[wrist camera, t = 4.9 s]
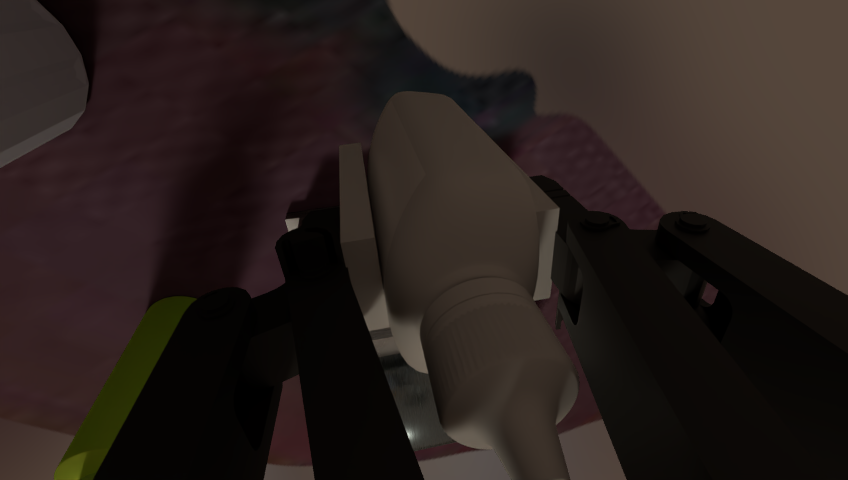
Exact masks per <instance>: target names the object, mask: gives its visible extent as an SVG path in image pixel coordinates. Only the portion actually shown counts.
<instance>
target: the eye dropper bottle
mask: <svg viewBox="0 0 848 480" xmlns="http://www.w3.org/2000/svg"><path fill="white" fill-rule="evenodd" d="M367 181H368V192H369V198H370V205H371V212H372V218H373V225H374V231H375V238H376V244H377V251H378V257H379V264H380V270H381V277H382V283H383V290H384V296H385V304H386V310H387V315H388V320H389V325H390V328H391V332H392V335H393V338H394V340H395V343H396V345H397V347H398V349H399V351H400V353H401V355H402V357H403V358H404V360H405V361H406V362H407V364H408V365H410V366H411V367H412V368H414V369H415V370H416V371H419V372H423V373H427V374H429V379H430V383H431V387H432V392H433V396H434V400H435V404H436V409H437V413H438V417H439V421H440V424H441V426H442V428H443V429H444V432H445V433H447V435H448V436H450V437H451V438H452V439H453V440H455V441H457V442H459V443H461V444H463V445H465V446H468V447H472V448H477V449H494V451H495V452H496V454H497V455H498V457H499V459H500V461H501V462H502V464H503V466H504V468H505V470H506V471H507V473H508V475H509V477H510V478H511V480H570V477H569V473H568V469H567V466H566V463H565V459H564V455H563V452H562V448H561V444H560V440H559V437H558V433H557V428H556V425H557V424H558V423H559V422H560V421H561V420H562V419H563V418H564V417H565V416H566V415H567V413H568V412H569V411H570V409H571V408H572V406H573V404H574V402H575V400H576V397H577V394H578V390H579V383H580V382H579V376H578V372H577V370H576V367H575V366H574V364H573V363H572V361H571V359H570V358H569V356H568V355H567V353H566V351H565V350H564V348H563V346H562V345H561V343H560V342H559V340H558V338H557V337H556V335H555V334H554V332H553V330H552V329H551V327H550V325H549V324H548V322H547V321H546V319H545V317H544V316H543V314H542V313H541V311H540V309H539V308H538V306H537V304H536V303H535V301H534V300H533V297H534V293H535V289H536V283H537V277H538V268H539V231H538V223H537V216H536V210H535V205H534V201H533V198H532V194H531V191H530V187H529V186H528V184H527V182H526V181H525V179H524V178H523V176H522V175H521V173H520V172H519V170H518V169H517V168H516V167H515V165H514V164H513V163H512V162H511V161H510V160H509V159H508V157H507V156H506V155H505V154H504V153H503V152H502V151H501V150H500V149H499V148H498V146H497V145H496V144H495V143H494V142H493V141H492V140H491V139H490V138H489V137H488V136H487V135H486V134H485V133H484V132H483V131H482V130H481V129H480V128H479V126H478V125H477V124H476V123H475V122H474V121H473V120H472V119H471V118H470V117H469V116H468V115H467V114H466V113H465V112H464V111H463V110H462V109H461V108H460V107H459V106H458V105H457V104H456V103H455V102H454V101H453V100H452V99H451V98H449V97H447V96H445V95H441V94H434V93H424V92H412V91H404V92H399V93H396V94H395V95H394V96H393V97H391V98H390V99H389V101H388V103H387V104H386V106H385V108H384V110H383V112H382V114H381V116H380V118H379V121H378V123H377V126H376V129H375V131H374V135H373V138H372V142H371V146H370V151H369V157H368V169H367Z"/></svg>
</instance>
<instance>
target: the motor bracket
mask: <svg viewBox="0 0 848 480" xmlns="http://www.w3.org/2000/svg"><path fill="white" fill-rule="evenodd" d="M335 207H340V206H335ZM328 208H334V207H328ZM321 209H327V208H321ZM321 209H314V210H321ZM314 210H307V211H300V212H293V213H287V214H286V219H285V220H286V224H287V227H288V231H291V230H293V229H296V228H299V227H301V225H302V220H303V219H304V218H305V217H306V216H307V214H308V213H309V212H310V211H314ZM369 333H370V335H371V338H372V341H373V343H374V346H375V349H376V351H377V354H378V357H379V359H380V362H381V365H382V367H383V370H384V373H385V376H386V378H387V381H388V384H389V386H390V389H391V392H392V394H393V397H394V400H395V402H396V405H397V408H398V410H399V413H400V416H401V418H402V421H403V424H404V427H405V429H406V432H407V435H408V437H409V440H410V443H411V445H412V448H413V451H417V450H421V449H426V448H431V447H436V446H440V445H445V444H450V443H454V442H457V441H455V440H453V439H452V438H451V437H450V436H448V435H447V433H445V432H444V429H443V428H442V426H441V424H440V421H439V417H438V413H437V409H436V404H435V400H434V396H433V392H432V387H431V383H430V379H429V374H427V373H423V372H419V371H416V370H415V369H414V368H412V367H411V366H410V365H408V364H407V362H406V361H405V360H404V358H403V357H402V355H401V353H400V351H399V349H398V347H397V345H396V343H395V340H394V338H393V335H392V332H391V328H390V325H389V327H388V328H382V329H377V330H371V331H369Z"/></svg>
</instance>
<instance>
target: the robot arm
mask: <svg viewBox="0 0 848 480" xmlns="http://www.w3.org/2000/svg"><path fill="white" fill-rule="evenodd" d="M479 128H480V127H479ZM480 129H481V128H480ZM481 130H482V129H481ZM482 131H483V130H482ZM483 132H484V131H483ZM484 133H485V132H484ZM485 134H486V133H485ZM486 135H487V134H486ZM487 136H488V135H487ZM488 137H489V136H488ZM489 138H490V137H489ZM490 139H491V138H490ZM491 140H492V139H491ZM492 141H493V140H492ZM493 142H494V141H493ZM494 143H495V142H494ZM495 144H496V143H495ZM496 145H497V144H496ZM497 146H498V145H497ZM498 148H499V149H500V150H501V151H502V152H503V153H504V154H505V155H506V156H507V157H508V159H509V160H510V161H511V162H512V163H513V164H514V165H515V167H516V168H517V169H518V170H519V172H520V173H521V175H522V176H523V178H524V179H525V181H526V182H527V184H528V186H529V187H530V191H531V194H532V198H533V201H534V205H535V210H536V216H537V223H538V231H539V268H538V277H537V283H536V289H535V293H534V297H533V300H534V301H536V300H541V299H547V298H550V293H551V284H552V281H553V282H554V284H555V285H556V286H557V288H558V289H559V297H558V306H557V314H556V322H555V325H556V329H560V326H561V321H562V320H564V323H565V325H566V329H567V330H568V333H569V335H570V338H571V340H572V343H573V345H574V348H575V350H576V353H577V355H578V358H579V360H580V363H581V365H582V368H583V371H584V373H585V376H586V378H587V381H588V383H589V386H590V388H591V391H592V393H593V396H594V398H595V401H596V403H597V406H598V408H599V411H600V413H601V416H602V419H603V421H604V424H605V426H606V429H607V431H608V434H609V436H610V439H611V441H612V444H613V446H614V449H615V451H616V454H617V456H618V459H619V461H620V464H621V466H622V469H623V472H624V474H625V476H626V479H627V480H848V295H846V294H844V293H842V292H841V291H839V290H837V289H835V288H834V287H832V286H830V285H828V284H827V283H825V282H823V281H821V280H820V279H818V278H816V277H815V276H813V275H811V274H809V273H808V272H806V271H804V270H802V269H801V268H799V267H797V266H795V265H794V264H792V263H790V262H788V261H786V260H785V259H783V258H781V257H779V256H778V255H776V254H774V253H773V252H771V251H769V250H767V249H766V248H764V247H762V246H761V245H759V244H757V243H755V242H753V241H752V240H750V239H748V238H747V237H745V236H743V235H741V234H740V233H738V232H736V231H734V230H733V229H731V228H729V227H727V226H725V225H724V224H722V223H720V222H719V221H717V220H715V219H713V218H710V217H708V216H706V215H702V214H698V213H696V212H688V211H681V212H671V213H668V214H666V215H663V217H662V218H661V219H660V222H659V226H658V230H632V229H629V228H628V227H627V225H626V224H625V223H624V222H623V221H622V220H621V219H619V218H618V217H616V216H614V215H611V214H609V213H604V212H599V211H588V210H587V209H585V208H584V207H583V206H582V205H581V204H580V203H579V202H578V201H577V200H576V199H574V198H573V197H572V196H570V194H569V193H568V192H567V191H566V190H563V188H562V187H561V186H560V185H559V184H558V183H557V182H556V181H554V180H552V179H549V178H547V177H545V176H542V175H540V176H533V177H528V176H527V175H526V174H525V173H524V171H523V170H522V169H521V168H520V167H519V166H518V165H517V164H516V163H515V162H514V161H513V160H512V159H511V158H510V157H509V156H508V155H507V154H506V153H505V152H504V151H503V150H502V149H501V148H500V147H499V146H498ZM339 177H340V207H334V208H327V209H321V210H314V211H310V212H309V213H308V214H307V216H306V217H305V218H304V219H303V220H302V225H301V227H299V228H296V229H293V230H291V231H289V232H287V233H286V234H284V235H282V236H281V237H280V239H279V240H278V241H277V242H276V246H275V249H276V252H277V255H278V258H279V261H280V265H281V268H282V271H283V274H284V277H285V283H284V284H283V285H281V286H280V287H278V288H277V289H275V290H272V291H270V292H268V293H265V294H263V295H260V296H257V297H255V298H252V299H251V297H250V295H249V294H248V292H247V291H246V290H244V289H241V288H238V287H229V288H222V289H218V290H214V291H211V292H209V293H207V294H205V295H203V296H201V297H200V298H198V299H197V300H195V301H194V302H193V303H191V304H190V306H189V307H188V308H187V309H186V311H185V312H184V314H183V315H182V317H181V319H180V321H179V323H178V325H177V326H176V328H175V330H174V332H173V334H172V336H171V337H170V339H169V341H168V343H167V345H166V347H165V348H164V350H163V352H162V354H161V356H160V358H159V359H158V361H157V363H156V365H155V367H154V368H153V370H152V372H151V374H150V376H149V378H148V379H147V381H146V383H145V385H144V387H143V389H142V390H141V392H140V394H139V396H138V398H137V400H136V401H135V403H134V405H133V407H132V409H131V411H130V412H129V414H128V416H127V418H126V420H125V422H124V423H123V425H122V427H121V429H120V431H119V433H118V434H117V436H116V438H115V440H114V442H113V443H112V445H111V447H110V449H109V451H108V453H107V454H106V456H105V458H104V460H103V462H102V464H101V465H100V467H99V469H98V471H97V473H96V475H95V476H94V478H93V480H263V479H264V475H265V470H266V465H267V460H268V455H269V450H270V445H271V440H272V436H273V431H274V426H275V421H276V416H277V411H278V406H279V401H280V396H281V392H282V387H283V385H282V382H283V381H285V380H288V379H290V378H292V377H294V376H296V375H298V374H299V376H300V383H301V390H302V397H303V403H304V410H305V417H306V424H307V430H308V437H309V444H310V451H311V458H312V464H313V471H314V478H315V480H424V478H423V475H422V472H421V470H420V467H419V464H418V461H417V459H416V456H415V453H414V451H413V448H412V445H411V443H410V440H409V437H408V435H407V432H406V429H405V427H404V424H403V421H402V418H401V416H400V413H399V410H398V408H397V405H396V402H395V400H394V397H393V394H392V392H391V389H390V386H389V384H388V381H387V378H386V376H385V373H384V370H383V367H382V365H381V362H380V359H379V357H378V354H377V351H376V349H375V346H374V343H373V341H372V338H371V335H370V333H369V331H371V330H377V329H382V328H388V327H389V320H388V315H387V310H386V304H385V296H384V290H383V283H382V277H381V270H380V264H379V257H378V251H377V244H376V238H375V231H374V225H373V218H372V212H371V205H370V198H369V192H368V185H367V179H366V173H365V167H364V161H363V155H362V149H361V143H355V144H348V145H340V146H339ZM707 282H708V283H710V284H711V285H712V286H714V287H715V288H716V289H718V290H719V291H718V293H717V296H716V298H715V301H714V303H713V304H712V305H711V304H709V303H707V302H706V301H704V300H703V299H702V296H703V293H704V290H705V287H706V285H707Z"/></svg>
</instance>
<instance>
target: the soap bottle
mask: <svg viewBox="0 0 848 480" xmlns="http://www.w3.org/2000/svg"><path fill="white" fill-rule="evenodd" d="M88 87H89V82H88V78H87V74H86V70H85V66H84V62H83V59H82V55H81V53H80V52H79V50H78V48H77V47H76V45H75V44H74V42H73V40H72V39H71V37H70V36H69V34H68V33H67V31H66V29H65V28H64V26H63V25H62V24H61V23H60V22H59V21H58V20H57V19H56V18H55V17H54V16H53V15H52V14H51V13H50V12H48V11H47V10H46V9H45V8H44V7H43V6H42V5H41V4H40V3H39V2H38V1H37V0H0V168H1V167H3V166H4V165H6V164H8V163H10V162H12V161H13V160H15V159H17V158H19V157H21V156H23V155H24V154H26V153H28V152H30V151H32V150H33V149H35V148H37V147H39V146H41V145H42V144H44V143H46V142H48V141H50V140H51V139H53V138H55V137H57V136H59V135H61V134H62V133H64V132H66V131H68V130H70V129H71V128H72V127H73V126H74V124H75V123H76V122H77V120H78V119H79V118H80V116H81V115H82V113H83V112H84V111H85V108H86V101H87V94H88Z"/></svg>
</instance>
